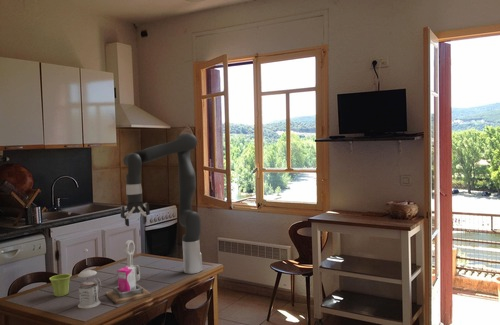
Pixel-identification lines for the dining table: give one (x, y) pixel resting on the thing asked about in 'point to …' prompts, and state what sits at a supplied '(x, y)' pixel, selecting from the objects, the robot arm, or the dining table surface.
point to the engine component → (131, 258)
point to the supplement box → (126, 279)
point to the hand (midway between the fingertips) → (136, 224)
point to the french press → (85, 298)
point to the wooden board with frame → (127, 294)
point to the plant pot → (60, 284)
